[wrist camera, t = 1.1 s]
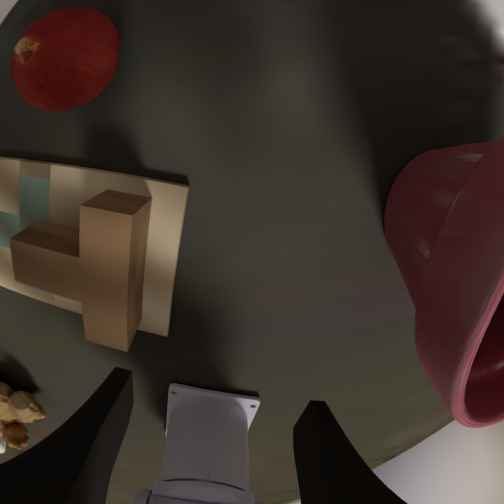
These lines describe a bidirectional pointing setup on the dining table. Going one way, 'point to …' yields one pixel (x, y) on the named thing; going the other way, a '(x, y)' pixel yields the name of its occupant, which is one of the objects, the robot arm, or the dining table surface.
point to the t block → (92, 263)
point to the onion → (65, 58)
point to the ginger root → (17, 415)
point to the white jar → (2, 445)
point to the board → (68, 214)
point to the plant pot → (455, 272)
